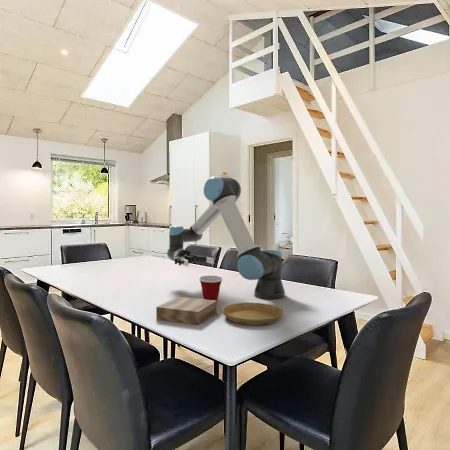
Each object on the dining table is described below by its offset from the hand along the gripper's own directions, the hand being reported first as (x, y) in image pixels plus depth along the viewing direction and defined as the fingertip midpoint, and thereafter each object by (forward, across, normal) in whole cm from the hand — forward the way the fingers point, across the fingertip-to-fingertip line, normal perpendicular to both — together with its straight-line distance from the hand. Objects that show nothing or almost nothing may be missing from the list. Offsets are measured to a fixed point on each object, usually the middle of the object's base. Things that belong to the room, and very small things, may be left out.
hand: (200, 262), depth 175 cm
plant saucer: (+37, -5, -18) cm, 42 cm away
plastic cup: (+10, 0, -18) cm, 21 cm away
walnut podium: (+23, +17, -17) cm, 33 cm away
